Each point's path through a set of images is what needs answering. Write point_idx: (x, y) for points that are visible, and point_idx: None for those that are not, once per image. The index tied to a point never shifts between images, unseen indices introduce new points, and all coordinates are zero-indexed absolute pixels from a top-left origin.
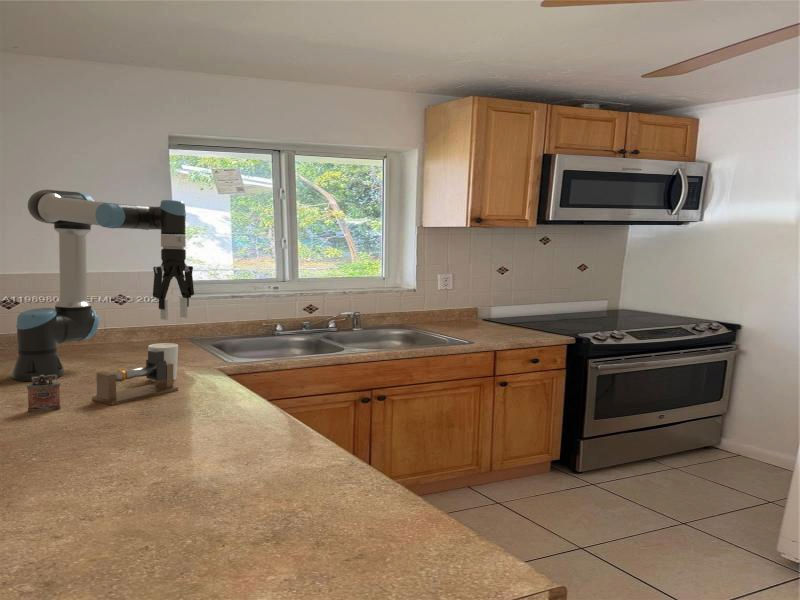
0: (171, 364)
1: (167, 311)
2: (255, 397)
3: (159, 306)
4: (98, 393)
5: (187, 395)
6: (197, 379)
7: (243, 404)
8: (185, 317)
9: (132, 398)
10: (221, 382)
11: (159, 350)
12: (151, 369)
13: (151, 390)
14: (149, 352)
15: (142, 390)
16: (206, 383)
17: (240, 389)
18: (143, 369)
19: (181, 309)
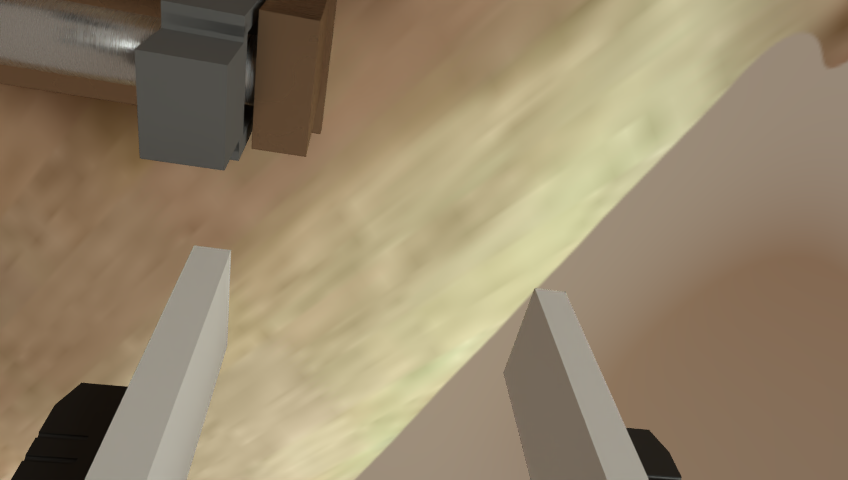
0: (291, 153)
1: (194, 434)
2: (398, 430)
3: (48, 442)
4: None
5: (276, 227)
6: (587, 36)
7: (299, 448)
8: (504, 374)
9: (15, 82)
10: (567, 195)
11: (220, 119)
12: None
13: None
14: (139, 69)
15: (146, 8)
16: (519, 146)
17: (479, 334)
18: (82, 75)
19: (553, 394)
